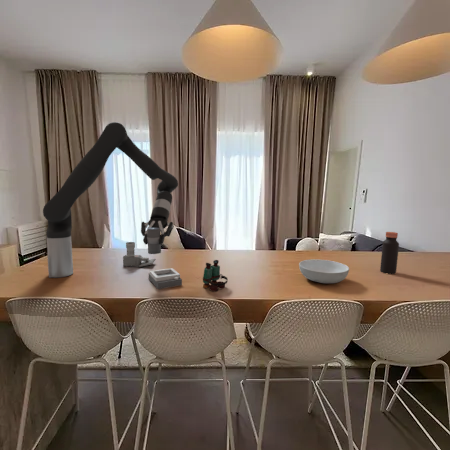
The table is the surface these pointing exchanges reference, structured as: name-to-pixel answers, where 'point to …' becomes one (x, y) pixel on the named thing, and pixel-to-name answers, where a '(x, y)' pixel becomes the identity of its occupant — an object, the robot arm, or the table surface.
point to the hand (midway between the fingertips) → (152, 243)
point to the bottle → (389, 253)
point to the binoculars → (213, 277)
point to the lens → (153, 240)
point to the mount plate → (165, 278)
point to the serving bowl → (323, 270)
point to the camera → (134, 257)
